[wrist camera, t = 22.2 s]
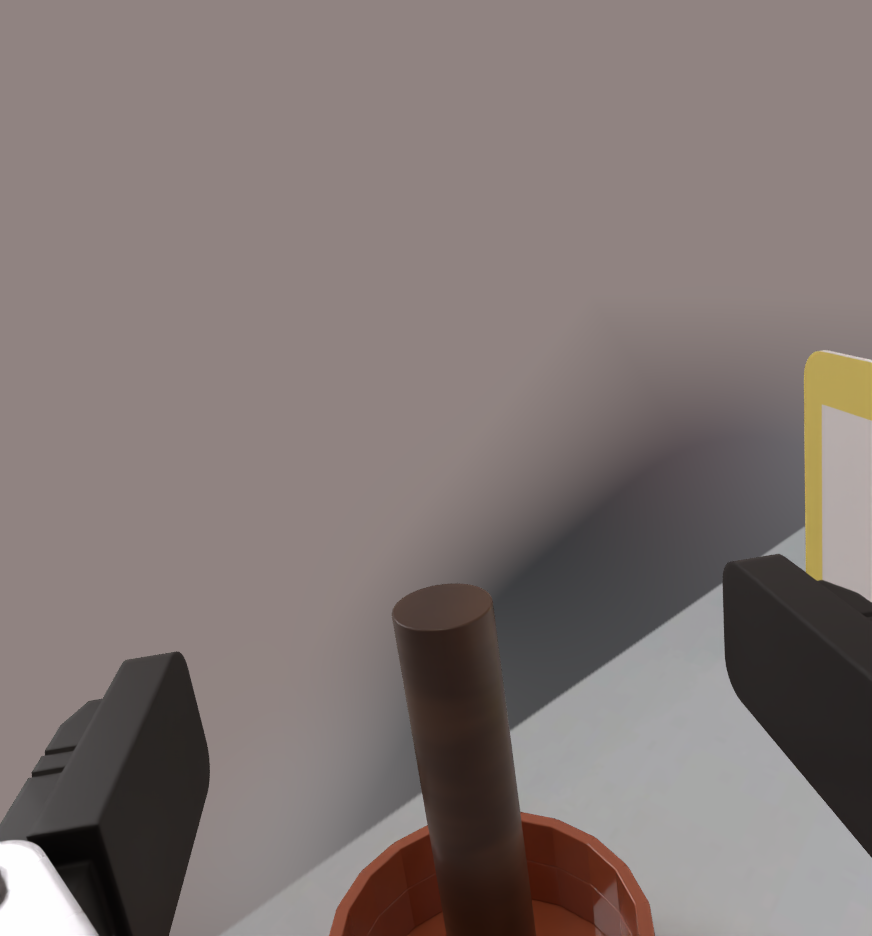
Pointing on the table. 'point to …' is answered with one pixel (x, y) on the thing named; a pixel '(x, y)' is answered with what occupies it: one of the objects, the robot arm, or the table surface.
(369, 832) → the table surface
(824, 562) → the tablet
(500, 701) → the brown tall cylinder
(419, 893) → the bowl
